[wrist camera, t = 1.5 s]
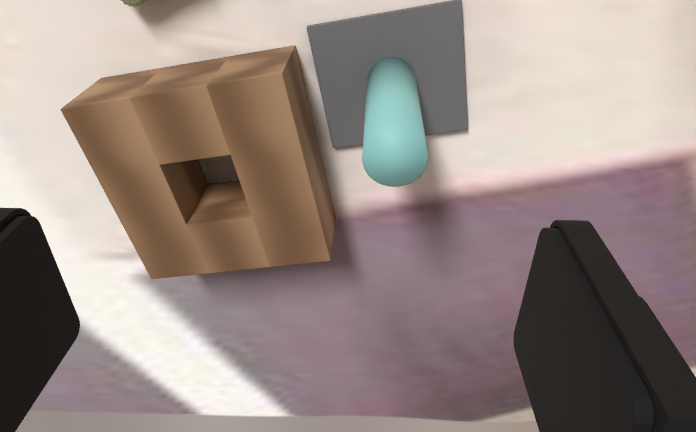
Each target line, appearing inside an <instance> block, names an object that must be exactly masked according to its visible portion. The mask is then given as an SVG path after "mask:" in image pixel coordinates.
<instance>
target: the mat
mask: <svg viewBox="0 0 696 432" xmlns="http://www.w3.org/2000/svg"><path fill="white" fill-rule="evenodd" d="M307 32H308V36H309V41H310V45H311V50H312V55H313V59H314V64H315V68H316V73H317V77H318V82H319V87H320V91H321V96H322V100H323V105H324V109H325V114H326V119H327V123H328V128H329V132H330V137H331V141H332V146H333V148H337V147H344V146H351V145H358V144H363V139H364V123H365V108H366V92H367V78H368V74H369V71H370V69H371V68H372V66H373V65H374V64H375V63H376V62H378V61H379V60H381V59H384V58H387V57H397V58H401V59H403V60H405V61H406V62H408V63H409V64H410V65H411V67H412V68H413V70H414V73H415V77H416V83H417V89H418V95H419V102H420V108H421V114H422V120H423V126H424V132H425V135H431V134H439V133H446V132H453V131H461V130H468V121H467V100H466V79H465V58H464V37H463V16H462V0H453V1H447V2H441V3H436V4H430V5H424V6H418V7H413V8H407V9H401V10H396V11H390V12H384V13H378V14H373V15H367V16H361V17H355V18H350V19H344V20H338V21H333V22H327V23H321V24H315V25H310V26H307Z"/></svg>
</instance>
